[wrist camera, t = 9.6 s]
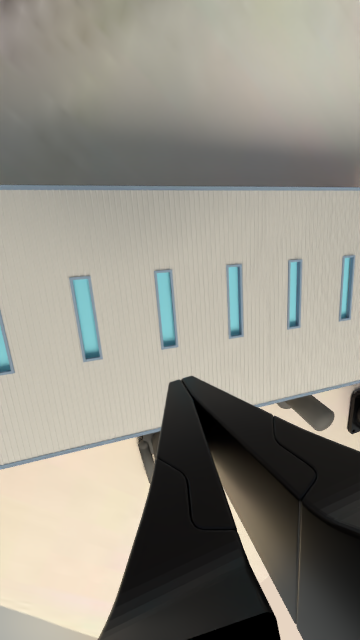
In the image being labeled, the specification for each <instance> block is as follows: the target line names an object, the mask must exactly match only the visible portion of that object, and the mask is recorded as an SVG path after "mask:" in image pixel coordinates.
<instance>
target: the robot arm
mask: <svg viewBox="0 0 360 640" xmlns="http://www.w3.org/2000/svg"><path fill="white" fill-rule="evenodd" d="M348 431H349V432H350V433H351V434H354V433H357V432H359V431H360V391H359V392H357V393H355V394H353V396H352V402H351V410H350V419H349V427H348ZM223 488H224V489H225V491H226V493H227V495H228V497H229V499H230V501H231V503H232V505H233V507H234V509H235V510H236V512H237V514H238V516H239V518H240V520H241V522H242V524H243V526H244V528H245V529H246V531H247V533H248V535H249V537H250V539H251V541H252V543H253V545H254V547H255V549H256V550H257V552H258V554H259V556H260V558H261V560H262V562H263V564H264V566H265V568H266V569H267V571H268V573H269V575H270V577H271V579H272V581H273V583H274V584H275V586H276V589H277V590H278V592H279V594H280V596H281V598H282V600H283V602H284V604H285V605H286V608H287V609H288V611H289V613H290V615H291V617H292V619H293V621H294V623H295V624H297V629H298V631H299V632H300V634H301V636H302V638H303V640H360V451H357V450H355V449H352V448H349V447H347V446H344V445H342V444H339V443H337V442H334V441H331V440H329V439H326V438H324V437H321V436H319V435H316V434H314V433H312V432H309V431H307V430H304V429H302V428H300V427H298V426H296V425H293V424H291V423H289V422H287V421H285V420H283V419H281V418H279V417H277V416H273V415H272V414H270V413H268V412H266V411H264V410H262V409H260V408H258V407H256V406H254V405H252V404H250V403H248V402H246V401H244V400H241V399H239V398H237V397H235V396H233V395H231V394H229V393H227V392H225V391H223V390H221V389H219V388H217V387H215V386H213V385H211V384H209V383H207V382H205V381H202V380H200V379H198V378H196V377H194V376H188V377H185V378H182V379H181V380H180V379H178V380H175V381H172V382H169V385H168V391H167V396H166V402H165V408H164V413H163V419H162V425H161V430H160V436H159V442H158V447H157V453H156V460H155V464H154V469H153V474H152V479H151V484H150V488H149V493H148V496H147V500H146V504H145V507H144V511H143V514H142V518H141V521H140V524H139V527H138V530H137V534H136V537H135V540H134V543H133V546H132V550H131V553H130V556H129V559H128V562H127V566H126V569H125V572H124V575H123V578H122V582H121V585H120V588H119V591H118V594H117V597H116V599H115V602H114V605H113V607H112V610H111V613H110V615H109V617H108V620H107V622H106V624H105V626H104V628H103V630H102V632H101V634H100V636H99V638H98V640H280V635H279V630H278V625H277V620H276V617H275V615H274V613H273V611H272V609H271V607H270V605H269V603H268V601H267V599H266V597H265V595H264V593H263V591H262V589H261V587H260V585H259V583H258V581H257V579H256V576H255V574H254V572H253V570H252V568H251V566H250V564H249V561H248V559H247V556H246V554H245V551H244V548H243V546H242V543H241V540H240V537H239V534H238V532H237V528H236V525H235V522H234V519H233V516H232V513H231V510H230V507H229V504H228V501H227V498H226V495H225V492H224V489H223Z"/></svg>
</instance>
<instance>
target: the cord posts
mask: <svg viewBox="0 0 360 640" xmlns="http://www.w3.org/2000/svg"><path fill="white" fill-rule="evenodd" d="M277 404H278V405H279V406H280V407H281V408H284V409H290V408H292V409H293V410H295V411H296V412H297V413H298V414H299V415H300V416H301V417H302V418H303V419H304V420H305V421H306V422H307V423H309V424H310V425H311V426H312V427H313V428H314V429H315V430H317V431H322V430H325V429H326V428H328V427H329V426H330V425H331V423H332V422H333V420H334V413H333V411H331V410H330V409H329V408H328V407H326V406H325V405H324V404H322V403H321V402H320V401H318V400H317V399H316V398H315V397H313V396H312V395H308V396H303V397H299V398H295V399H291V400H287V401H283V402H279V403H277ZM159 436H160V431H158V432H154V433H150V434H146V435H143V436H142V440H140V441H139V444H138V446H139V450H140V453H141V457H142V460H143V463H144V467H145V470H146V473H147V477H148V480H149V483H150V484H151V479H152V474H153V469H154V461H153V458H152V454H154V457H155V460H156V453H157V447H158V442H159ZM151 453H152V454H151Z"/></svg>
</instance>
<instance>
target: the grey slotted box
mask: <svg viewBox="0 0 360 640" xmlns="http://www.w3.org/2000/svg"><path fill="white" fill-rule="evenodd" d="M188 376H194V377H196V378H198V379H200V380H202V381H205V382H207V383H209V384H211V385H213V386H215V387H217V388H219V389H221V390H223V391H225V392H227V393H229V394H231V395H233V396H235V397H237V398H239V399H241V400H244V401H246V402H248V403H250V404H252V405H254V406H256V407H262V406H266V405H270V404H274V403H279V402H283V401H287V400H291V399H295V398H299V397H303V396H308V395H312V394H316V393H320V392H324V391H328V390H332V389H337V388H341V387H345V386H349V385H353V384H357V383H360V187H232V186H85V185H0V470H1V469H5V468H9V467H13V466H17V465H22V464H26V463H30V462H34V461H38V460H42V459H46V458H51V457H55V456H59V455H63V454H67V453H71V452H75V451H80V450H84V449H88V448H92V447H96V446H100V445H104V444H109V443H113V442H117V441H121V440H125V439H129V438H134V437H138V436H142V435H146V434H150V433H154V432H158V431H160V430H161V425H162V419H163V413H164V408H165V402H166V396H167V391H168V385H169V382H172V381H175V380H178V379H180V380H181V379H182V378H185V377H188Z"/></svg>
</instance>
